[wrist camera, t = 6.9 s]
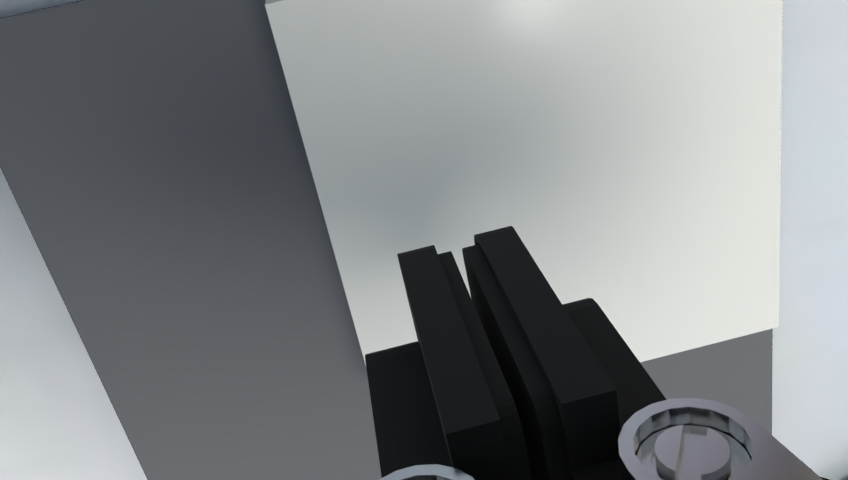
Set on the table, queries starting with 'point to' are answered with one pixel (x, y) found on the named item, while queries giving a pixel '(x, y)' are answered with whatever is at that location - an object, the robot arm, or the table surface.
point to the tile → (550, 151)
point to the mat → (215, 243)
